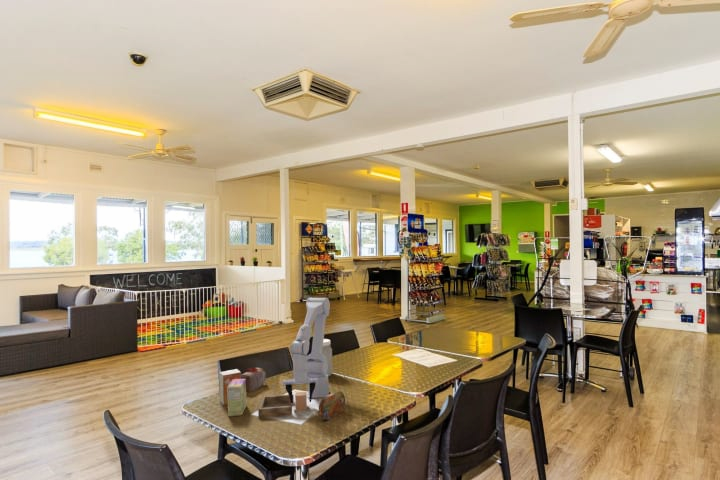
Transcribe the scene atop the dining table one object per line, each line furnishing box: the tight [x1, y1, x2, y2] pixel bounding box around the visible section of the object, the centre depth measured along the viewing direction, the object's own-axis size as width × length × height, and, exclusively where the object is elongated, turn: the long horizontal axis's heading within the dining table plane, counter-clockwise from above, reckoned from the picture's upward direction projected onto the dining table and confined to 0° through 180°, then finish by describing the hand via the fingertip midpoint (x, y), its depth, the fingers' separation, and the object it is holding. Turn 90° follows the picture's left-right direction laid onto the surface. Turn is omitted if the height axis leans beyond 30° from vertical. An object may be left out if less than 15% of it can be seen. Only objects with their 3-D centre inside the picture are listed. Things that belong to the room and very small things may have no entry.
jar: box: [314, 338, 334, 377], centre depth 217 cm, size 10×10×18 cm
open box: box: [257, 393, 295, 419], centre depth 172 cm, size 13×14×4 cm
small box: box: [218, 368, 242, 406], centre depth 184 cm, size 8×6×13 cm
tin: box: [318, 390, 346, 421], centre depth 165 cm, size 15×3×8 cm, turn 148°
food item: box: [241, 367, 267, 394], centre depth 200 cm, size 14×8×10 cm, turn 164°
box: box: [227, 379, 247, 417], centre depth 172 cm, size 10×6×12 cm, turn 5°
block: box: [294, 391, 308, 411], centre depth 173 cm, size 4×4×6 cm
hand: (301, 401), depth 173 cm, fingers open, 7 cm apart
